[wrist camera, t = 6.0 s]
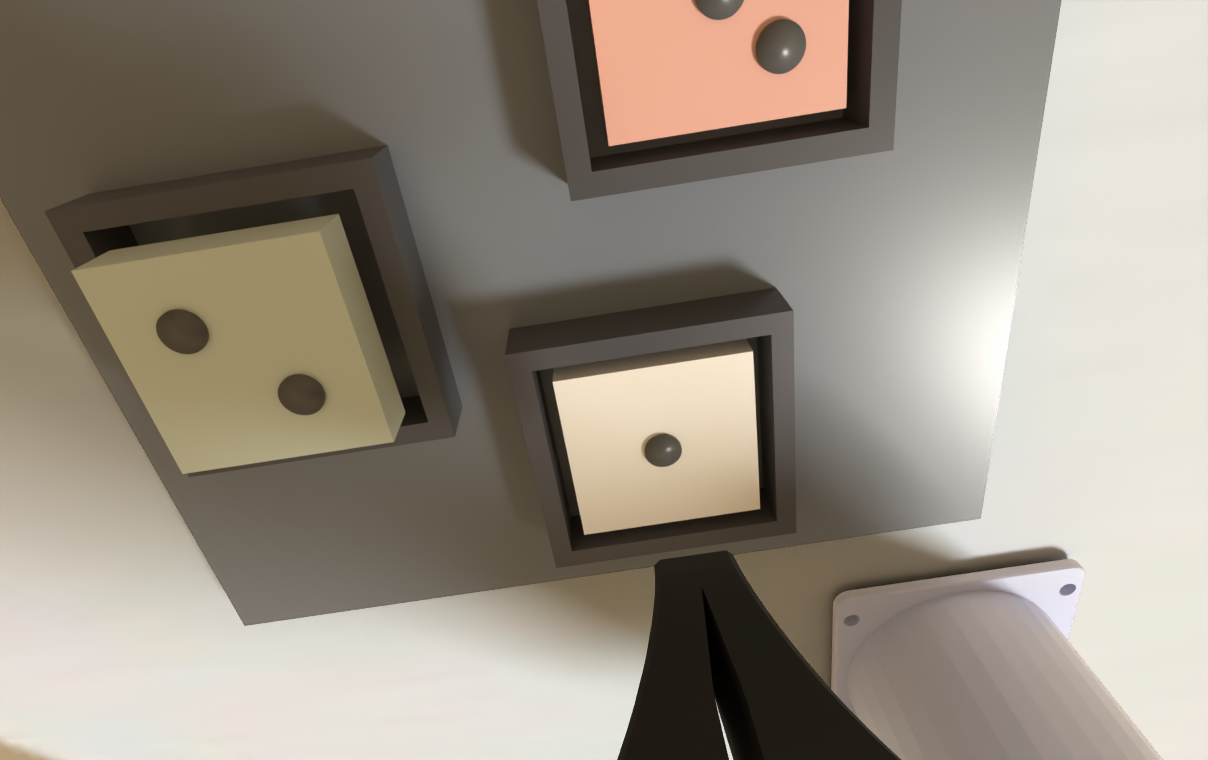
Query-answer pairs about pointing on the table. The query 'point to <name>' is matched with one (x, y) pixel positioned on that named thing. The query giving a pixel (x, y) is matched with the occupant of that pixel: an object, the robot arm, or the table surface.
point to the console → (547, 263)
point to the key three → (715, 63)
